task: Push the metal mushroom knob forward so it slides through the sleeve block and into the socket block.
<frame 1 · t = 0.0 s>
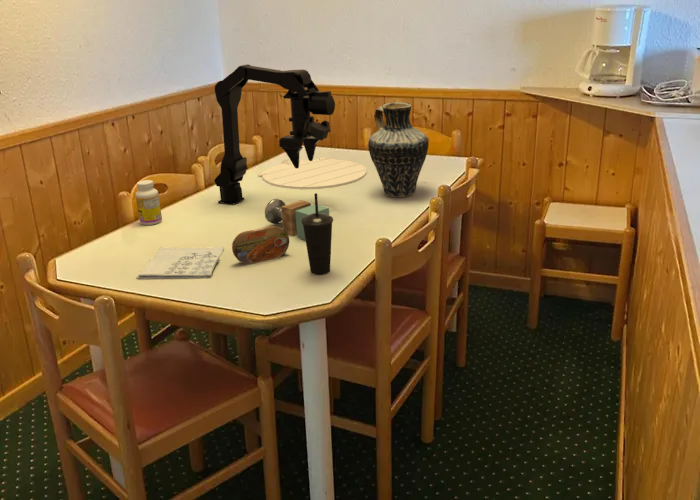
hand: (303, 164, 203), 15 cm above the table, tool pointing down, fingers open, 9 cm apart
metal mushroom knob: (286, 214, 192), point 4 cm above the table, slide at 0.0 cm
tin: (262, 260, 172), on the table
folded printed napkin: (184, 265, 171), on the table
supplement bottle: (151, 223, 202), on the table
drinking cup: (320, 271, 163), on the table
sleeve block: (297, 230, 190), on the table
lazy susan: (314, 175, 248), on the table
jug: (397, 195, 220), on the table
socket block: (313, 236, 186), on the table
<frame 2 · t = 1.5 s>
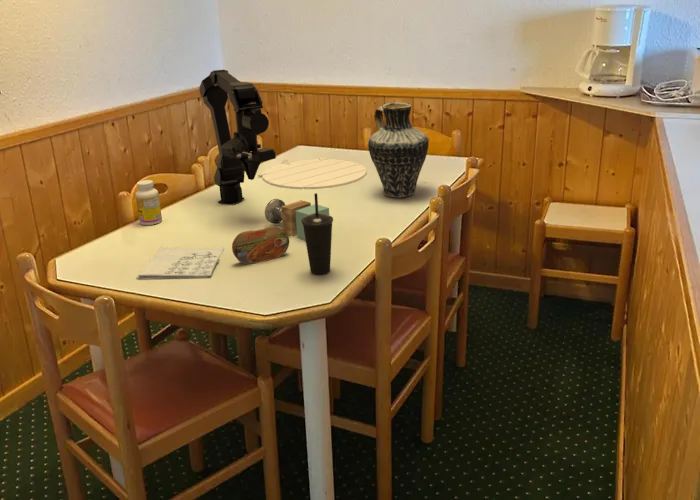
hand: (251, 179, 199), 12 cm above the table, tool pointing down, fingers closed
nothing on the table moved.
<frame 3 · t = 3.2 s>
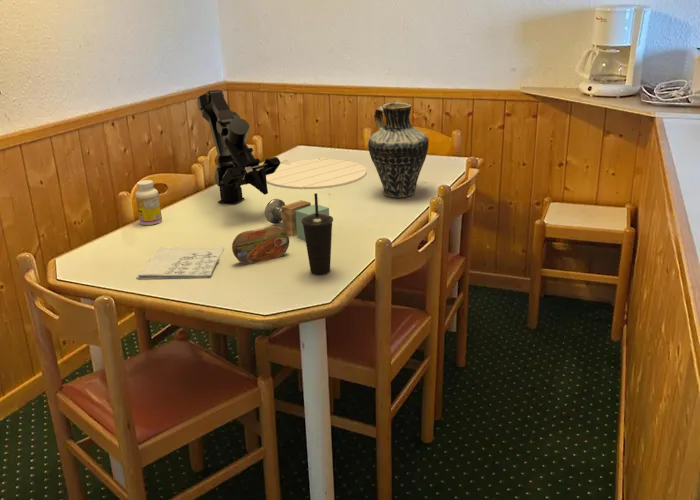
hand: (266, 193, 196), 9 cm above the table, tool tilted 45°, fingers closed
nothing on the table moved.
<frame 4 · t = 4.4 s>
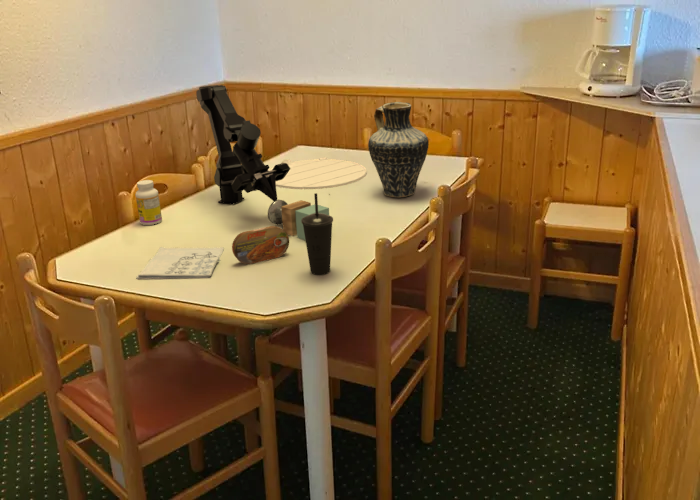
hand: (275, 200, 193), 8 cm above the table, tool tilted 45°, fingers closed
metal mushroom knob: (289, 215, 191), point 4 cm above the table, slide at 1.3 cm, touching gripper
everything else where it was.
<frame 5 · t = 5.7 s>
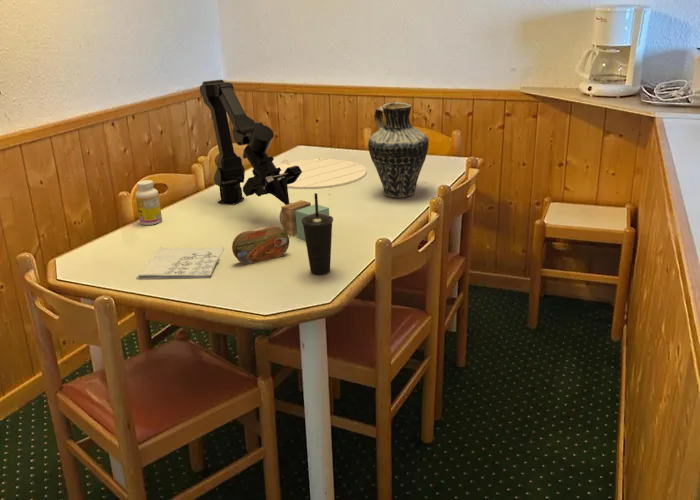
hand: (287, 203, 190), 8 cm above the table, tool tilted 45°, fingers closed, pressing on metal mushroom knob
metal mushroom knob: (301, 219, 188), point 4 cm above the table, slide at 6.6 cm, touching gripper
everything else where it was.
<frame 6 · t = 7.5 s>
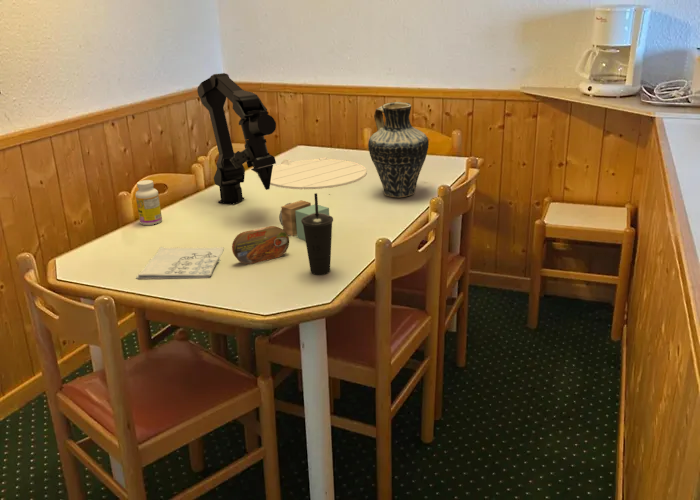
hand: (267, 189, 197), 10 cm above the table, tool pointing down, fingers closed
metal mushroom knob: (301, 219, 188), point 4 cm above the table, slide at 6.5 cm
everything else where it was.
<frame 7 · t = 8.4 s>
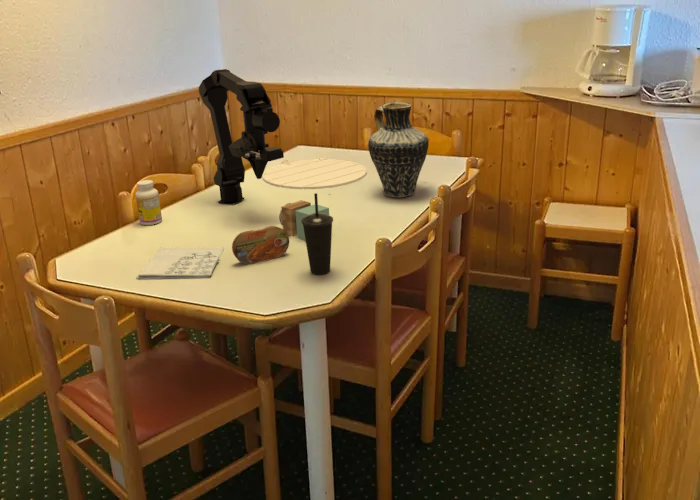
hand: (259, 178, 199), 12 cm above the table, tool pointing down, fingers closed
nothing on the table moved.
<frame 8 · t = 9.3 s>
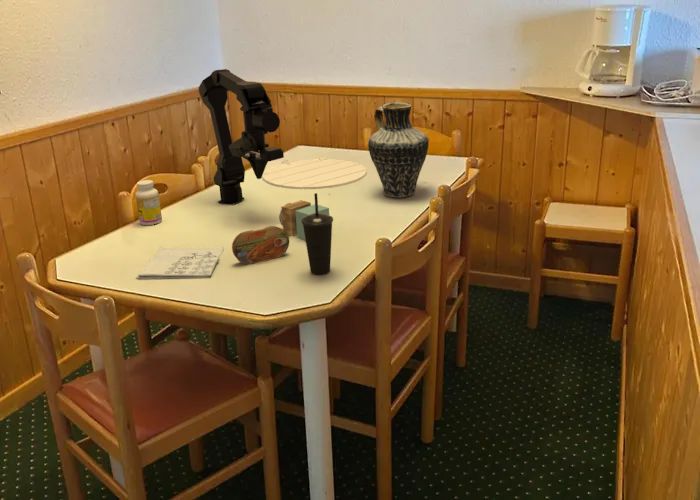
hand: (259, 178, 199), 12 cm above the table, tool pointing down, fingers closed
nothing on the table moved.
at the end: metal mushroom knob slide at 6.5 cm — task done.
